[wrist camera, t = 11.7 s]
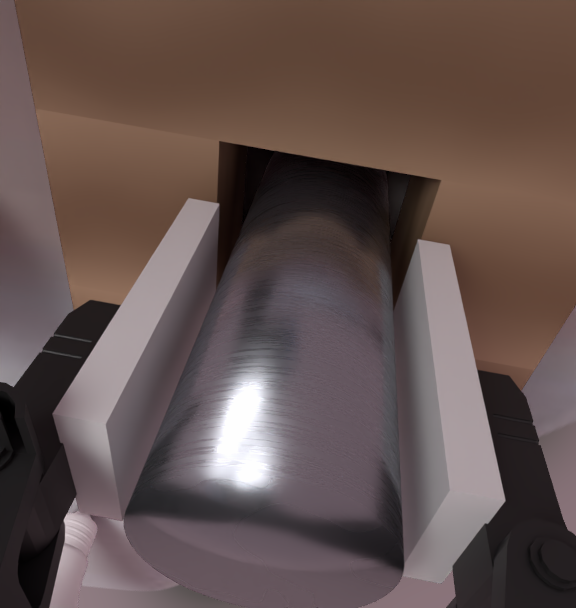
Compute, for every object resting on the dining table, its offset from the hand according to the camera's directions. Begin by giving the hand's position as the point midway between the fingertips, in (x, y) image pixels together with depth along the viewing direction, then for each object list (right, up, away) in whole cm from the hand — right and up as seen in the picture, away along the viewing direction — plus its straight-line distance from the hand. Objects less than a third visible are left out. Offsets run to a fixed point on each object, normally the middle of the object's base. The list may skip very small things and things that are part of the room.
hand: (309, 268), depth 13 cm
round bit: (+1, +3, +4) cm, 5 cm away
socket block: (+1, +3, +4) cm, 5 cm away
